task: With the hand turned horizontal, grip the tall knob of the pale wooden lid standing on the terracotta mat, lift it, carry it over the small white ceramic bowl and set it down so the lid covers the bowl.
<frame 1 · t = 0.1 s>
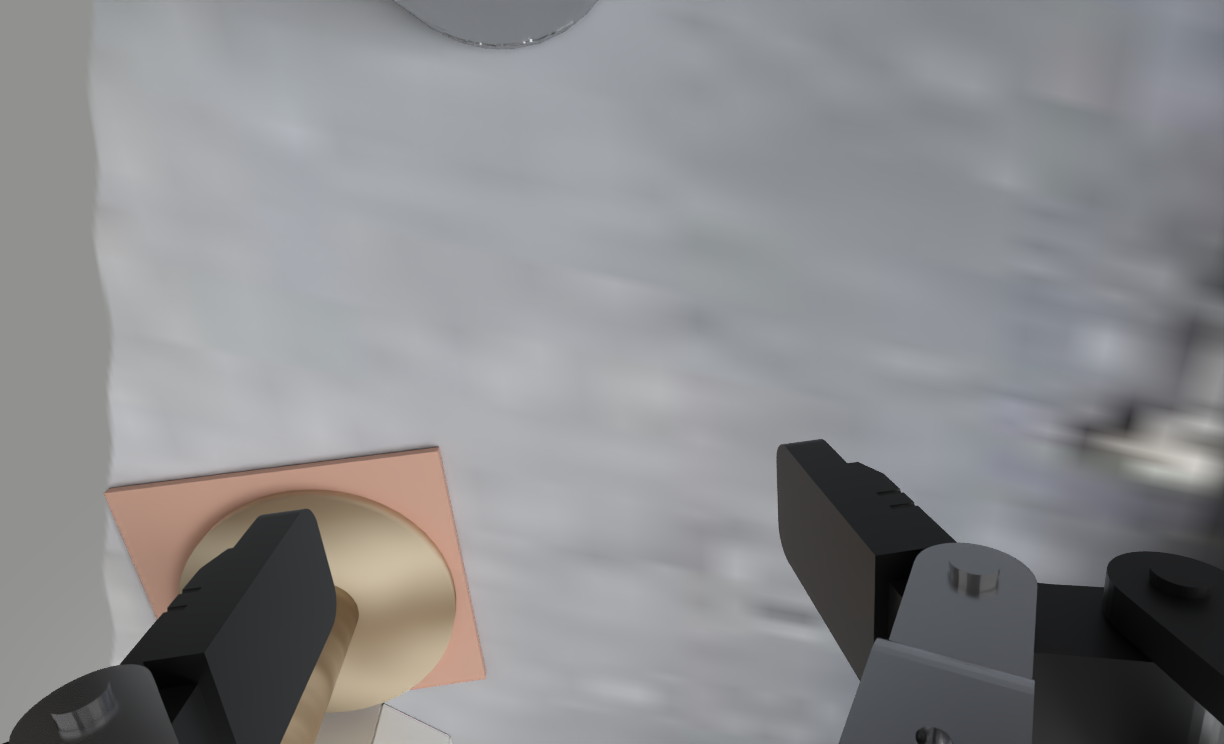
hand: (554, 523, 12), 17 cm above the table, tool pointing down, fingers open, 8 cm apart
lid: (325, 601, 32), resting on mat
mat: (314, 588, 32), on the table
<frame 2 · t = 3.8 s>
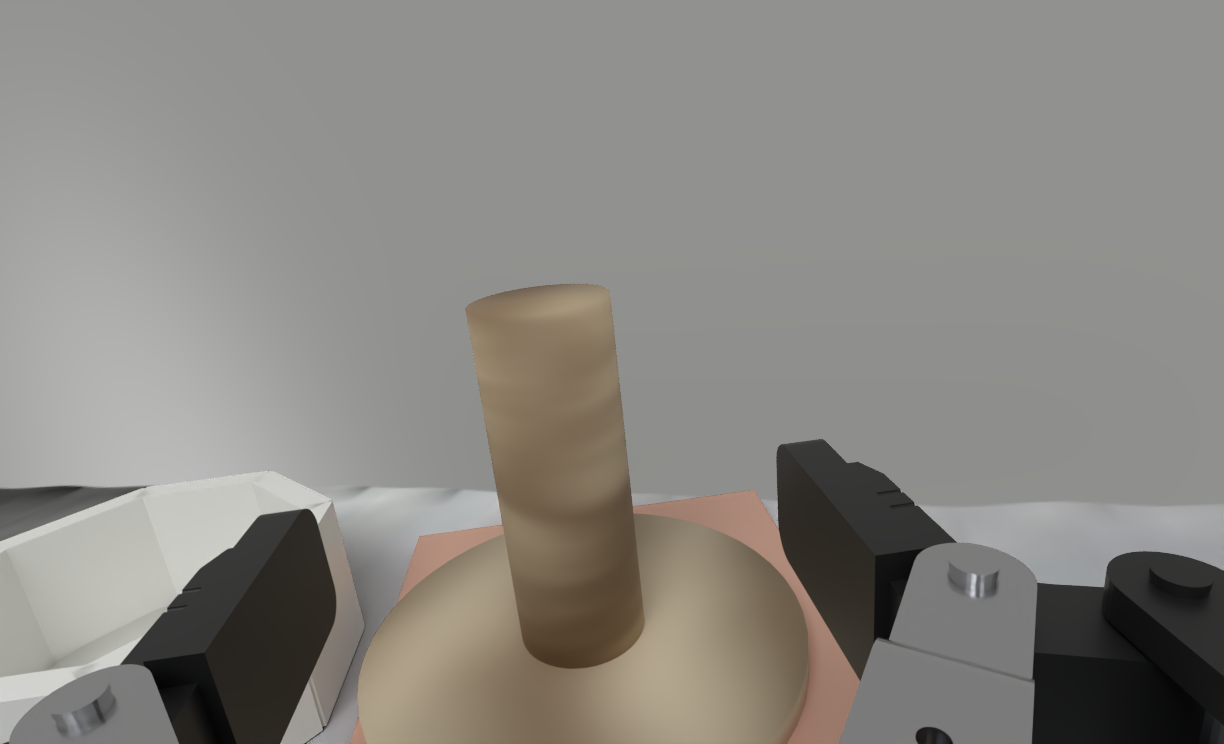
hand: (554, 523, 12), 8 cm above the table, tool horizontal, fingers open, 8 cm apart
bowl: (171, 697, 20), on the table
lid: (586, 647, 19), resting on mat
mat: (604, 644, 20), on the table
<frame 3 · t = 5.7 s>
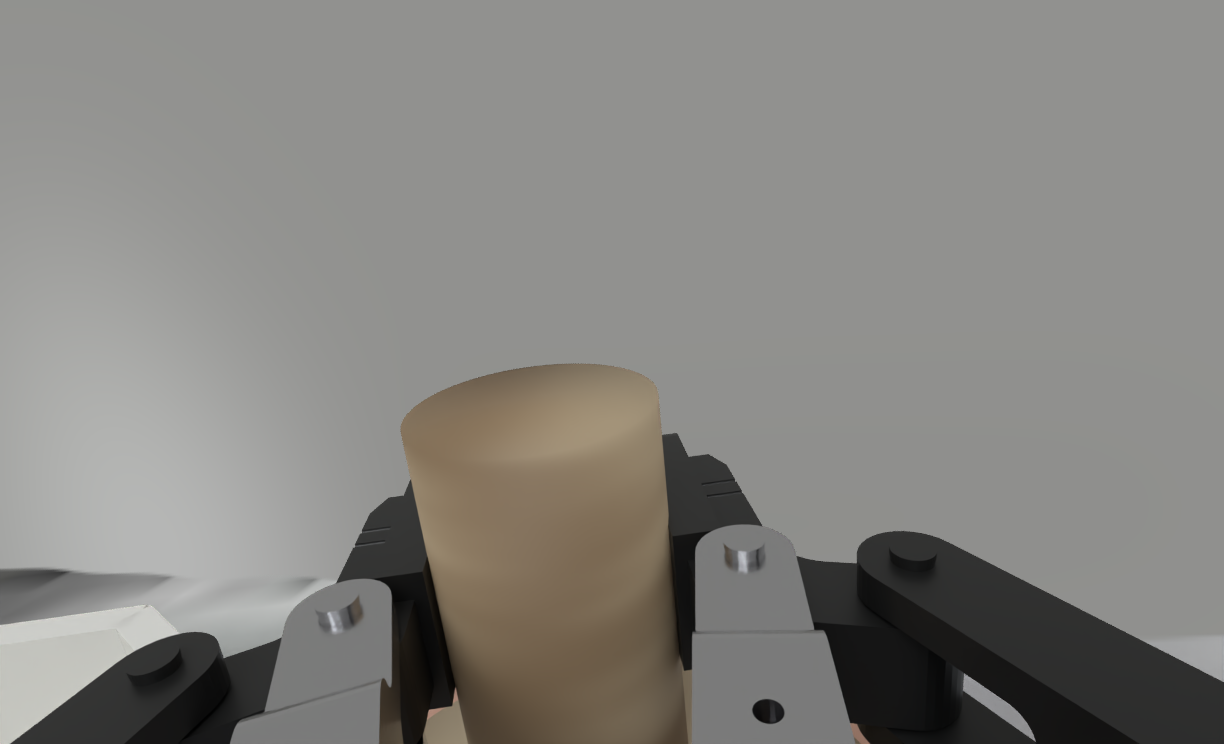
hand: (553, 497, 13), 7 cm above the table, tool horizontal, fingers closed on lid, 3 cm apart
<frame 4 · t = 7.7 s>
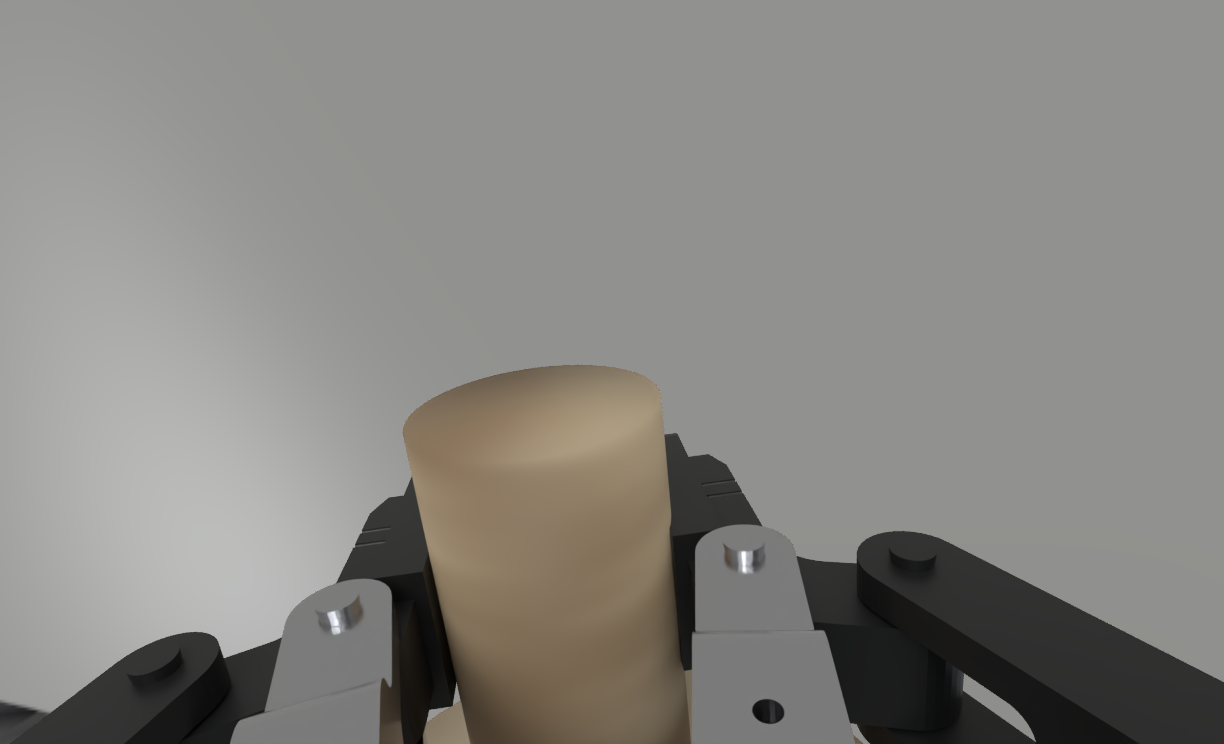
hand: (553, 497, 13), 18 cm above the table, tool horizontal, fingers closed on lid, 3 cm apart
when the fingers open (12 cm above the table, at t = 9.3 s): lid stays where it is, resting on bowl.
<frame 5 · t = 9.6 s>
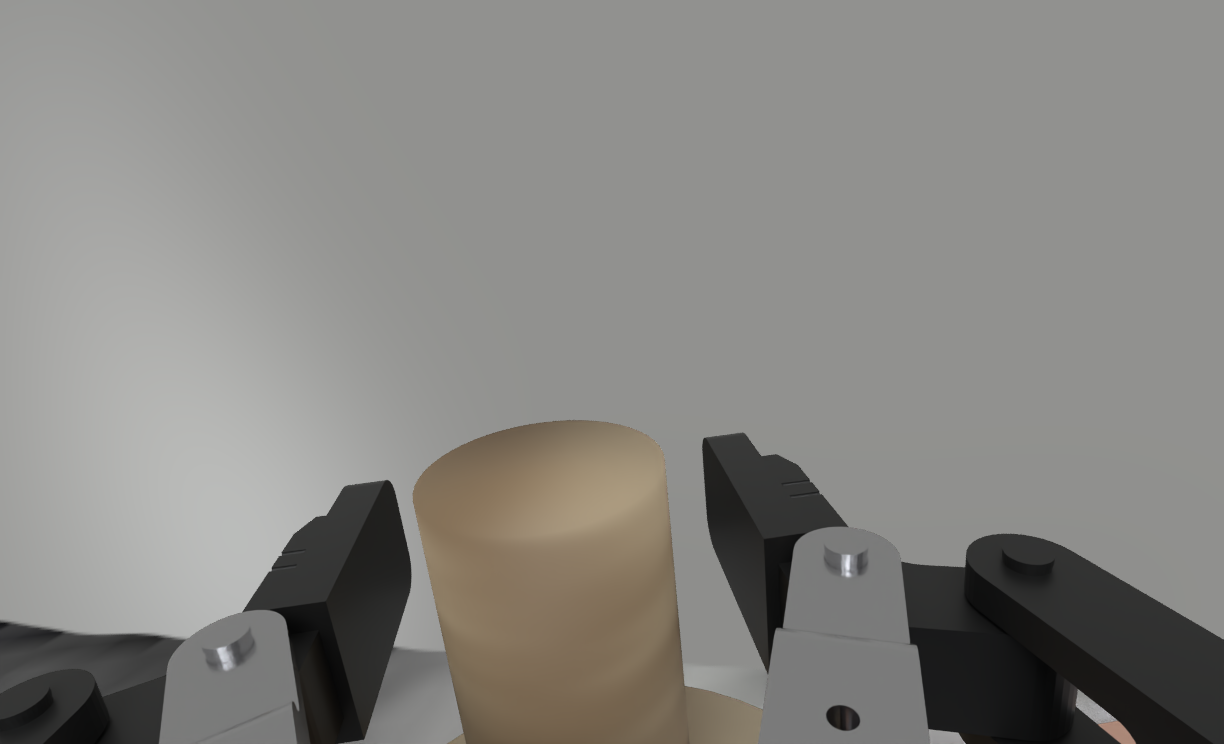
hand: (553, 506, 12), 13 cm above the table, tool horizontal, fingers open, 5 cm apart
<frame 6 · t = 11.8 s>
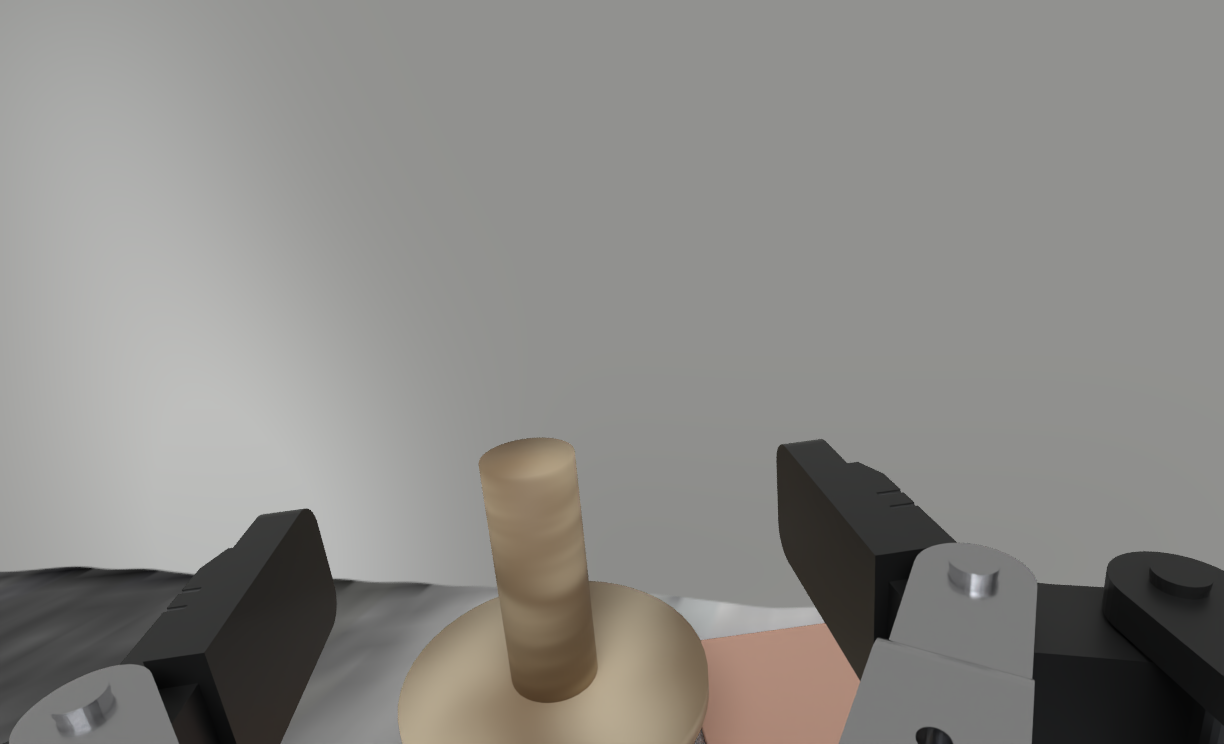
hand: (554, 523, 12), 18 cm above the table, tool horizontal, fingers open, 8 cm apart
lid: (556, 686, 27), point 4 cm above the table, touching bowl
mat: (861, 739, 29), on the table
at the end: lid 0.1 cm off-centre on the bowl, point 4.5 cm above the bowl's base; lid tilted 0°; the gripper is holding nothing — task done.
